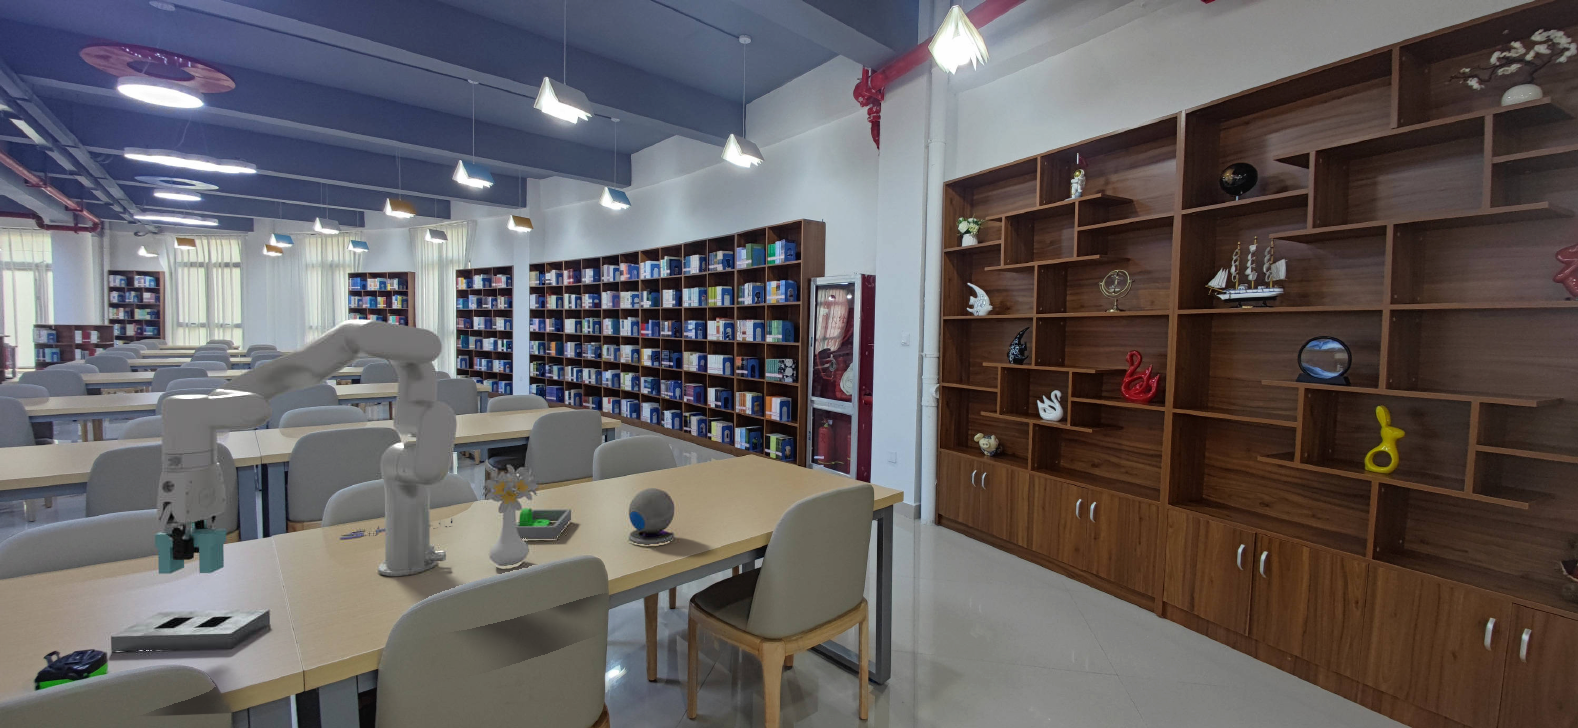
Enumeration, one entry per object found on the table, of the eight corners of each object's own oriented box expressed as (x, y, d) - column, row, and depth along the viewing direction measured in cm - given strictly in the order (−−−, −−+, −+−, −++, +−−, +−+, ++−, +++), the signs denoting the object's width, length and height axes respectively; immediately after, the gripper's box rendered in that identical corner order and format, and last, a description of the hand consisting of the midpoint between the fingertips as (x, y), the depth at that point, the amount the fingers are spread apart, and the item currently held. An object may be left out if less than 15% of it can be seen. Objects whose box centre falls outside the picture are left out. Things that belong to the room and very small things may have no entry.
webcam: (682, 538, 183) (683, 488, 182) (651, 550, 172) (652, 497, 172) (650, 530, 190) (651, 481, 189) (618, 541, 179) (619, 489, 178)
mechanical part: (540, 538, 181) (540, 511, 180) (519, 538, 180) (519, 511, 180) (552, 525, 193) (552, 500, 192) (532, 525, 192) (532, 500, 192)
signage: (338, 539, 175) (342, 529, 183) (338, 541, 175) (342, 531, 183) (452, 525, 189) (451, 516, 198) (452, 527, 189) (451, 519, 198)
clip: (226, 567, 120) (225, 528, 120) (213, 572, 117) (213, 533, 117) (169, 567, 119) (169, 529, 119) (155, 573, 116) (154, 534, 116)
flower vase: (489, 583, 147) (489, 479, 146) (478, 559, 163) (477, 464, 162) (546, 572, 155) (546, 473, 154) (530, 550, 170) (531, 460, 169)
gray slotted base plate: (269, 624, 125) (269, 609, 125) (230, 649, 115) (230, 633, 115) (160, 626, 123) (160, 611, 123) (111, 652, 113) (110, 636, 113)
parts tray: (571, 521, 196) (571, 509, 196) (555, 540, 178) (555, 526, 178) (531, 522, 195) (531, 509, 195) (512, 541, 177) (512, 527, 177)
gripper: (174, 469, 110) (175, 571, 110) (244, 452, 126) (246, 541, 127) (127, 469, 109) (129, 572, 110) (204, 452, 125) (205, 541, 126)
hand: (191, 554), depth 118 cm, fingers closed on clip, 3 cm apart
